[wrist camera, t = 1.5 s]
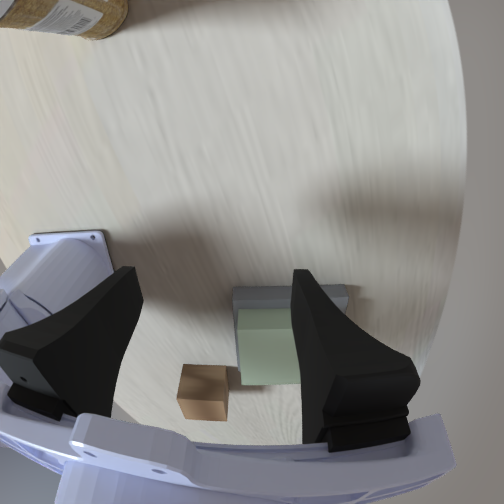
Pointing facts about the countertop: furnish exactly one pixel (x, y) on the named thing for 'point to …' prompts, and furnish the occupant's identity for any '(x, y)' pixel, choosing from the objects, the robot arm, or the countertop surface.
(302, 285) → the robot arm
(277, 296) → the tower base
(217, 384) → the walnut block
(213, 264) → the countertop surface
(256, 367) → the tower top
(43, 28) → the sprinkles bottle
